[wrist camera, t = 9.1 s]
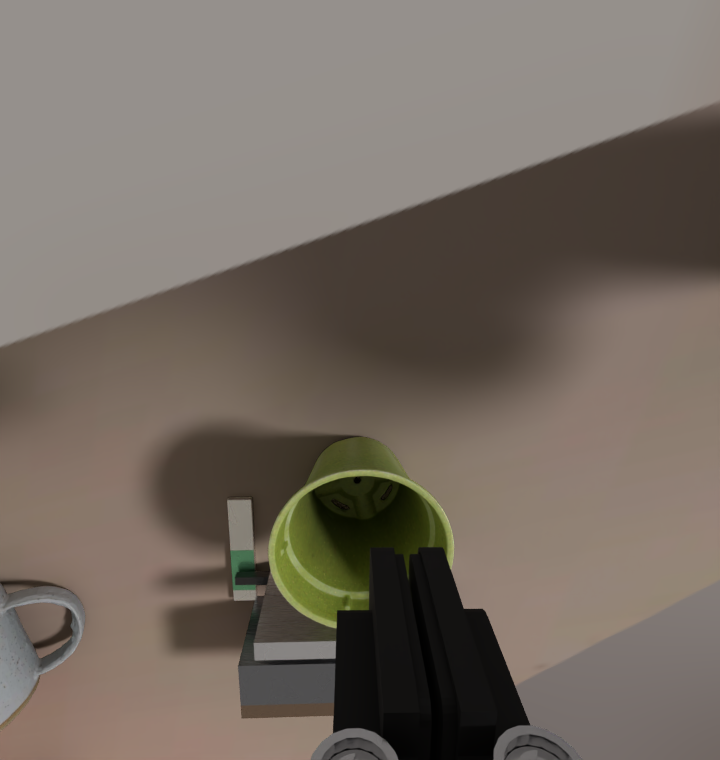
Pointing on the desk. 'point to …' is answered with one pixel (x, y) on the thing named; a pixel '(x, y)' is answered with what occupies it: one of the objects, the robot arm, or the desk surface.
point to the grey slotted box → (272, 677)
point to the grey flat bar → (286, 626)
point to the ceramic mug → (29, 646)
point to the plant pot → (350, 528)
